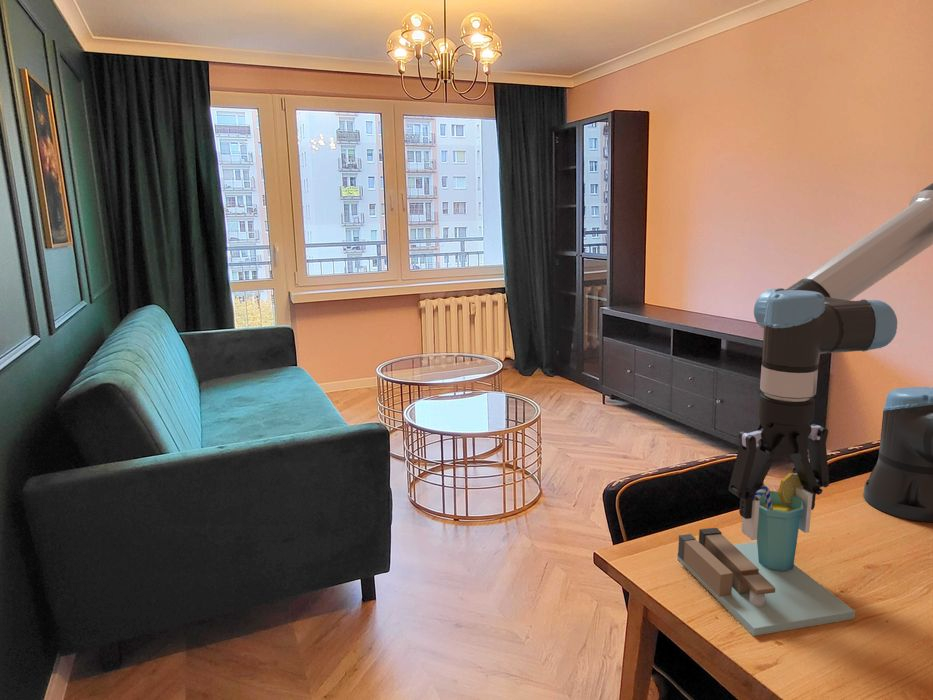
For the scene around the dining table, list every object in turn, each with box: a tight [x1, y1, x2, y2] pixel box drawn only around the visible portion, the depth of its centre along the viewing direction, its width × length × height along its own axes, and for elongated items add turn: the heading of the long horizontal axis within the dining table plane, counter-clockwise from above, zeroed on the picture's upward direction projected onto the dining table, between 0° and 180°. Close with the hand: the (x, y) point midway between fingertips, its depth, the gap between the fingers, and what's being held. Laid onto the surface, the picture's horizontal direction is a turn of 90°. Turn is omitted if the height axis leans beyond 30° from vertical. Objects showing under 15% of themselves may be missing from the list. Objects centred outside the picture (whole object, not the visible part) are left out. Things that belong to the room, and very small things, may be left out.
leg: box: [698, 527, 775, 595], centre depth 97 cm, size 16×3×4 cm, turn 8°
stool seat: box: [676, 533, 856, 637], centre depth 96 cm, size 16×20×5 cm
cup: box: [753, 472, 803, 571], centre depth 99 cm, size 14×8×15 cm, turn 132°
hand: (775, 531), depth 99 cm, fingers open, 8 cm apart
